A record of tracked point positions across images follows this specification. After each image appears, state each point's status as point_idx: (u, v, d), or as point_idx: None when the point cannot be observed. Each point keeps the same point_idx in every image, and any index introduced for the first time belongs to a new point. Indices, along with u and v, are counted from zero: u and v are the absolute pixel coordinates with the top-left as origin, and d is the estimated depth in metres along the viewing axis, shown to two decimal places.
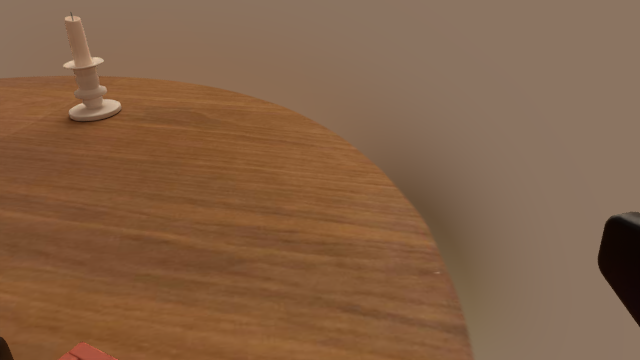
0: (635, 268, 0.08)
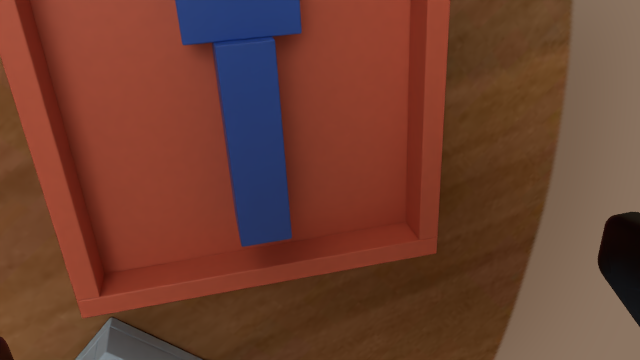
0: (635, 268, 0.08)
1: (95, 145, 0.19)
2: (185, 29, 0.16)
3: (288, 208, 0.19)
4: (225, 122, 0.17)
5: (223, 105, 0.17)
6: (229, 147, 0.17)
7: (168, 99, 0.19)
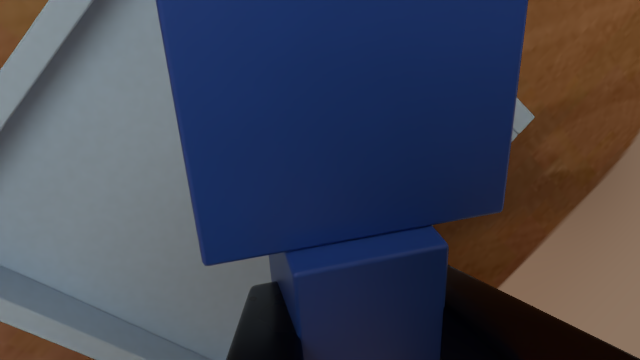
0: None
1: None
2: (212, 231, 0.06)
3: None
4: None
5: None
6: None
7: None
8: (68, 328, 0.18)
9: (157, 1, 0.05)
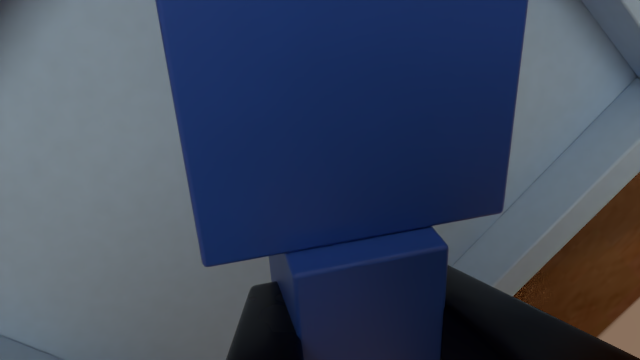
0: None
1: None
2: (212, 232, 0.06)
3: None
4: None
5: None
6: None
7: None
8: None
9: (157, 2, 0.05)
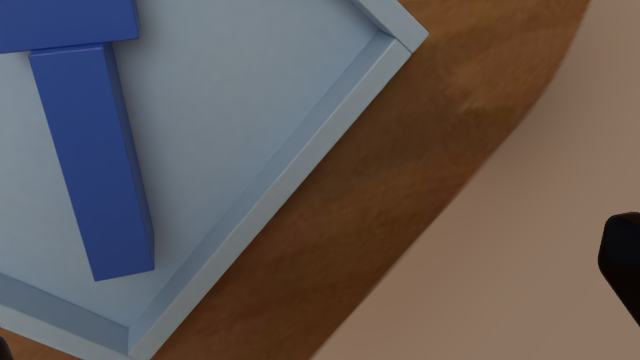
0: (635, 268, 0.08)
1: None
2: None
3: (145, 237, 0.17)
4: (54, 142, 0.15)
5: (49, 123, 0.14)
6: (63, 171, 0.15)
7: None
8: None
9: None
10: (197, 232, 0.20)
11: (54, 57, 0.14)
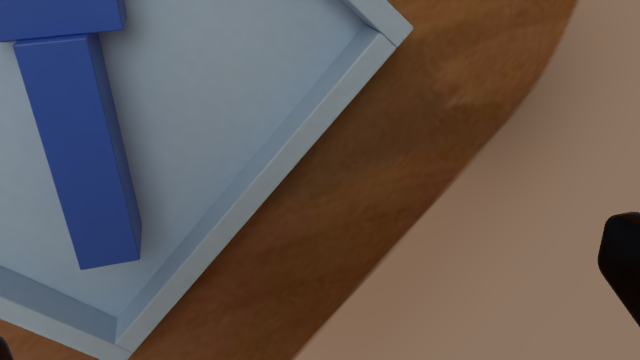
0: (635, 268, 0.08)
1: None
2: None
3: (130, 226, 0.17)
4: (39, 132, 0.15)
5: (34, 112, 0.15)
6: (48, 160, 0.15)
7: None
8: None
9: None
10: (184, 223, 0.20)
11: (38, 47, 0.14)
